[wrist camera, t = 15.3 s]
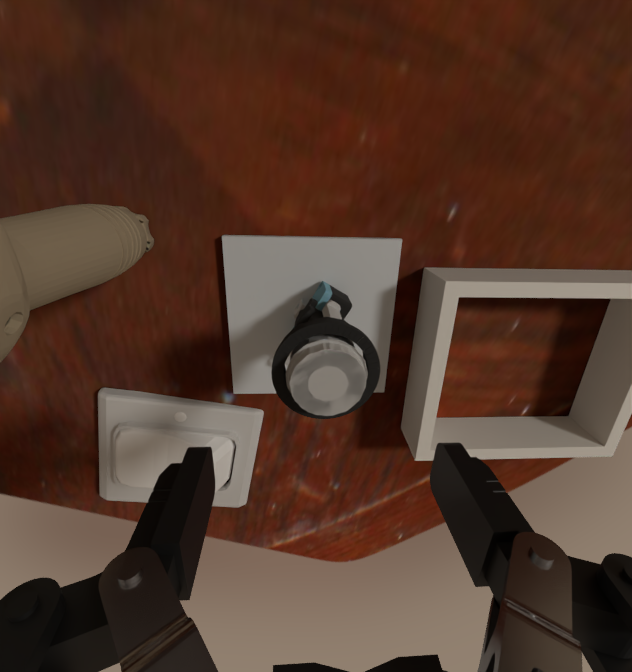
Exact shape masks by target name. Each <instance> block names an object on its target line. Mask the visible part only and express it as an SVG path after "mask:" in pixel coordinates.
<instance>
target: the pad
mask: <svg viewBox="0 0 632 672" xmlns="http://www.w3.org/2000/svg"><path fill="white" fill-rule="evenodd" d="M401 245H402V239H400V238H357V237H305V236H253V235H223V236H222V246H223V259H224V272H225V286H226V299H227V312H228V326H229V339H230V352H231V366H232V379H233V392H234V394H255V393H276V391H275V388H274V386H273V382H272V374H271V371H272V362H273V358H274V355H275V352H276V350H277V348H278V346H279V345H280V343H281V342H282V341H283V339H284V337H285V336H286V335H287V334H288V333H289V332H290V331H291V330H292V329H293V327H294V325H295V321H296V319H295V318H294V309H295V308H296V306H297V304H298V303H299V301H300V300H301V299H302V300H303V305H305V306H306V305H307V303H308V302H309V300H310V299H311V298H312V297H313V295H314V294H315V292H316V290H317V289H318V286H319V285H320V283H321V282H322V281H324V282H326V283H327V284H329V285H331V286H332V287H334V288H336V289H337V290H339V291H341V292H342V293H344V294H346V295H348V297H349V299H350V301H351V303H352V308H351V310H350V311H349V313H348V314H347V316H346V317H345V319H344V320H345V321H346V322H347V323H349V324H350V325H352V326H354V327H356V328H358V329H359V330H361V331H362V332H363V333H364V334H365V335H366V336H367V337H368V338H369V339H370V340H371V342H372V343H373V345H374V347H375V349H376V351H377V353H378V356H379V360H380V377H379V381H378V384H377V387H376V389H375V390H374V392H384V390H385V382H386V373H387V365H388V356H389V347H390V339H391V330H392V322H393V313H394V305H395V296H396V288H397V279H398V271H399V262H400V254H401ZM353 344H354V346H355V348H356V349H357V351H358V352H359V353H360V354H361V356H362V357H363V351H362V350H361V348H360V347H359V346H358V345H357V344H356V343H354V342H353ZM287 367H288V365H286V364H285V368H286V370H287Z"/></svg>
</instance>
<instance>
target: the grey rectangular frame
mask: <svg viewBox="0 0 632 672" xmlns="http://www.w3.org/2000/svg"><path fill="white" fill-rule="evenodd" d="M459 297H497V298H611V300H610V303H609V305H608V308H607V311H606V314H605V316H604V319H603V322H602V325H601V327H600V330H599V333H598V336H597V338H596V341H595V344H594V347H593V349H592V352H591V355H590V358H589V360H588V363H587V366H586V369H585V371H584V374H583V377H582V380H581V382H580V385H579V388H578V391H577V393H576V396H575V399H574V402H573V404H572V407H571V410H570V413H569V415H568V416H537V417H466V418H436V415H437V410H438V405H439V400H440V394H441V389H442V384H443V379H444V373H445V368H446V363H447V357H448V352H449V347H450V342H451V336H452V331H453V326H454V320H455V315H456V310H457V305H458V299H459ZM631 414H632V270H562V269H490V268H424V270H423V277H422V284H421V291H420V298H419V305H418V311H417V318H416V325H415V332H414V339H413V346H412V353H411V360H410V367H409V374H408V381H407V387H406V394H405V401H404V408H403V415H402V422H401V430H402V432H403V434H404V437H405V439H406V441H407V443H408V446H409V448H410V450H411V452H412V455H413V457H414V459H415V461H426V460H433V459H434V455H435V450H436V446H437V444H438V443H457V442H459V443H461V444H462V445H463V446H464V448H465V449H466V451H467V452H468V454H469V456H470V457H477V458H478V459H517V458H563V457H605V456H607V457H609V456H613V454H614V452H615V449H616V447H617V445H618V443H619V441H620V438H621V436H622V434H623V432H624V429H625V427H626V425H627V423H628V420H629V418H630V416H631Z"/></svg>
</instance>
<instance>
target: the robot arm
mask: <svg viewBox="0 0 632 672" xmlns="http://www.w3.org/2000/svg"><path fill="white" fill-rule="evenodd" d="M430 484H431V489H432V493H433V495H434V497H435V499H436V502H437V504H438V506H439V508H440V510H441V512H442V515H443V517H444V519H445V521H446V523H447V526H448V528H449V530H450V532H451V534H452V536H453V539H454V541H455V543H456V545H457V547H458V549H459V552H460V554H461V556H462V558H463V560H464V563H465V565H466V567H467V569H468V571H469V574H470V576H471V578H472V580H473V582H474V585H475V586H476V587H480V586H489V587H490V588H491V591H492V593H493V598H492V601H491V606H490V611H489V617H488V622H487V628H486V633H485V638H484V644H483V649H482V654H481V659H480V664H479V668H478V672H582V653H583V654H584V656H585V658H586V660H587V662H588V663H589V665H590V667H591V669H592V670H593V672H632V558H631V557H629V556H626V555H623V554H615V553H614V554H609V555H607V556H605V558H604V559H603V561H602V563H601V564H597V563H593V562H589V561H585V560H581V559H577V558H574V557H570V556H567V555H566V554H565V552H564V551H563V550H562V549H561V548H560V547H559V546H558V545H557V544H556V543H554V542H553V541H552V540H550V539H548V538H547V537H545V536H543V535H540V534H537V533H535V532H534V531H533V529H532V528H531V526H530V525H529V523H528V522H527V521H526V519H525V518H524V516H523V515H522V514H521V512H520V511H519V509H518V508H517V506H516V505H515V503H514V502H513V501H512V499H511V498H510V496H509V495H508V493H506V492H505V489H504V488H503V486H502V485H501V483H499V482H498V479H497V478H496V476H495V475H494V473H493V472H492V470H491V469H490V468H489V467H488V466H487V465H486V464H484V463H483V462H482V461H481V460H479V459H478V458H477V457H470V456H469V454H468V452H467V451H466V449H465V448H464V446H463V445H462V444H461V443H459V442H457V443H438V444H437V446H436V450H435V455H434V459H433V464H432V469H431V474H430ZM214 495H215V473H214V463H213V454H212V448H211V447H188V449H187V451H186V453H185V456H184V458H183V461H182V463H171V464H170V465H169V466H168V467H167V468H166V469H165V470H164V471H163V472H162V473H161V474H160V475H159V477H158V479H157V482H156V484H155V486H154V488H153V492H152V493H151V495H150V497H149V499H148V503H147V504H146V506H145V508H144V511H143V513H142V515H141V517H140V520H139V522H138V524H137V526H136V529H135V531H134V533H133V535H132V537H131V540H130V542H129V544H128V546H127V548H126V550H125V552H123V553H121V554H120V555H118V556H117V557H116V558H115V559H113V560H112V561H111V562H110V563H109V564H108V565H107V567H106V568H105V570H104V571H103V572H102V573H100V574H98V575H96V576H93V577H91V578H88V579H85V580H82V581H79V582H76V583H73V584H70V585H67V586H64V587H61V588H60V586H59V585H58V583H57V582H56V581H55V580H53V579H51V578H38V579H34V580H30V581H28V582H26V583H23V584H22V585H20V586H18V587H16V588H15V589H13V590H12V591H11V592H9V593H8V594H7V595H5V596H4V597H3V598H2V599H1V600H0V672H99V671H101V670H103V669H105V668H108V667H110V666H112V665H115V664H117V663H119V662H120V665H121V671H122V672H218V670H217V668H216V666H215V664H214V662H213V660H212V658H211V656H210V654H209V652H208V650H207V648H206V646H205V644H204V641H203V639H202V637H201V635H200V633H199V631H198V629H197V627H196V625H195V623H194V621H193V620H192V619H191V618H188V617H187V615H186V613H185V612H184V609H183V607H182V605H181V603H180V601H179V600H190V596H191V591H192V587H193V583H194V579H195V575H196V570H197V567H198V562H199V558H200V554H201V550H202V546H203V542H204V538H205V534H206V529H207V525H208V521H209V517H210V513H211V509H212V505H213V500H214ZM273 672H348V671H344V670H340V669H337V668H333V667H329V666H325V665H321V664H318V663H302V664H287V665H273ZM365 672H447V671H444V670H442V668H441V664H440V661H439V658H438V655H424V656H409V657H398V658H395V659H393V660H390V661H388V662H386V663H384V664H381V665H379V666H377V667H374V668H372V669H370V670H367V671H365Z"/></svg>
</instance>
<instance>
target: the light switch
mask: <svg viewBox="0 0 632 672" xmlns="http://www.w3.org/2000/svg"><path fill="white" fill-rule="evenodd" d="M263 414H264V412H263V411H262V410H260V409H255V408H248V407H241V406H234V405H228V404H221V403H214V402H207V401H200V400H194V399H187V398H180V397H173V396H166V395H160V394H153V393H146V392H139V391H130V390H121V389H112V388H101V390H100V391H99V392H98V427H99V486H100V496H101V497H103V498H104V499H106V500H111V501H129V502H148V499H149V497H150V495H151V493H152V492H153V488H154V486H155V484H156V482H157V479H158V477H159V475H160V474H161V473H162V472H163V471H164V470H165V469H166V468H167V467H168V466H169V465H170V464H171V463H182V461H183V458H184V456H185V453H186V451H187V449H188V447H211V448H212V454H213V463H214V473H215V495H214V500H213V505H212V506H220V507H241V506H243V505H245V504H246V502H247V497H248V491H249V486H250V481H251V476H252V471H253V466H254V461H255V455H256V450H257V445H258V440H259V435H260V430H261V424H262V419H263ZM234 441H235V443H234ZM235 444H236V452H235V458H234V464H233V470H232V476H231V479H230V480H229V482H228V483H226V482H227V480H228V479H229V478H230V474H231V468H232V462H233V456H234V450H235ZM225 483H226V484H225Z"/></svg>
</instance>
